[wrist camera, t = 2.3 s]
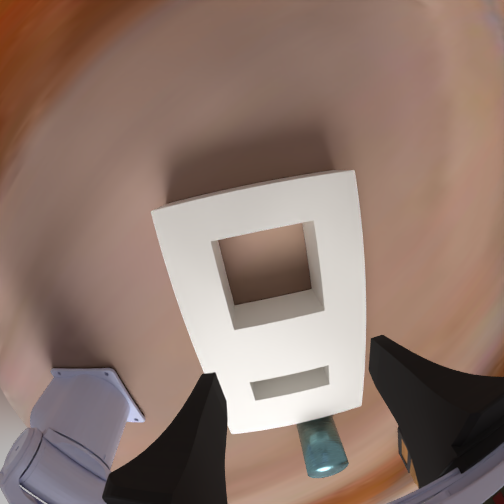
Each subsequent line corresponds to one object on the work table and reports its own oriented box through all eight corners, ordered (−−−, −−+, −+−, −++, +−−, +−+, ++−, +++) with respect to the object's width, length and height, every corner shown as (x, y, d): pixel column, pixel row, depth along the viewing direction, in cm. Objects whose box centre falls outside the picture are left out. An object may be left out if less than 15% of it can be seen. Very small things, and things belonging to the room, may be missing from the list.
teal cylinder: (297, 433, 26) (308, 481, 19) (294, 414, 25) (306, 466, 18) (331, 424, 26) (347, 470, 19) (331, 405, 25) (349, 455, 18)
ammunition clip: (397, 427, 28) (429, 488, 16) (408, 420, 28) (442, 480, 16) (398, 452, 31) (422, 502, 19) (408, 447, 31) (433, 496, 19)
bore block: (232, 407, 24) (231, 434, 21) (165, 204, 18) (150, 211, 15) (349, 382, 24) (361, 405, 20) (334, 169, 18) (354, 170, 15)
